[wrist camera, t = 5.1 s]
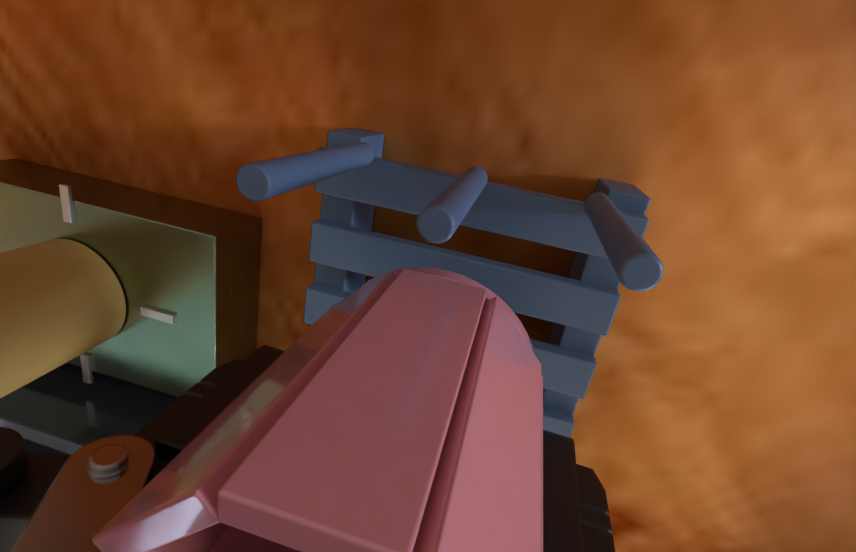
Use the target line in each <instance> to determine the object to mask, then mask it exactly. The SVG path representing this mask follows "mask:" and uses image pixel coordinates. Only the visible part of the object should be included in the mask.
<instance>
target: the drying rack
mask: <svg viewBox="0 0 856 552" xmlns="http://www.w3.org/2000/svg"><path fill="white" fill-rule="evenodd" d="M384 137H385V136H384V134H383V133H378V132H374V131H369V130H364V129H359V128H349V129H339V130H330V131H328V136H327V147H322V148H319V149H318V150H317V151H312V152H307V153H301V154H296V155H291V156H286V157H280V158H275V159H270V160H264V161H259V162H254V163H249V164H245V165H243V166H242V167H241V168H240V169H239V171H238V173H237V177H236V182H237V187H238V189H239V191H240V192H241V194H242V195H243V196H244V197H246V198H247V199H249V200H252V201H262V200H265V199H268V198H271V197H274V196H277V195H280V194H283V193H286V192H289V191H292V190H295V189H298V188H301V187H304V186H307V185H310V184H313V183H315V191H316V192H319V193H322V202H321V213H320V219H318V220H316V221H314V222H313V223H312V230H311V241H310V253H309V260H310V261H313V262H316V269H315V280H314V283H312V284H311V285H310V286H309V287H307V289H306V299H305V311H304V323H307V324H310V326H312V325H313V324H314V323H315V322H316V321H317V320H318V319H319V318H320V317H321V316H322V315H323V314H324V313H325V312H326V311H327V310H328V309H329V308H330V307H331V306H332V305H334V304H336V303H337V302H339V301H341V300H342V299H344V298H346V297H347V296H349V295H351V294H352V293H353V292H354V291H355V290H356V289H358V288H359V287H360V286H362V285H363V284H364V283H365V277H366V275H368V276H372V277H376V276H378V275H381V274H384V273H387V272H389V271H390V270H398V269H403V268H412V267H427V268H437V269H442V270H447V271H451V272H454V273H457V274H460V275H464V276H466V277H468V278H470V279H472V280H474V281H476V282H478V283H480V284H482V285H483V286H485V287H486V288H488V289H490V290H491V291H492V292H493V293H495V294H496V295H497V296H498V297H500V298H501V299H502V300H503V301H504V302H505V303H506V304H507V305H508V306H509V307H510V308H511V309H512V310H513V312H514V313H518V314H522V315H526V316H530V317H534V318H538V319H542V320H546V321H550V322H554V323H553V327H552V330H551V333H550V336H549V339H548V343H544V342H540V341H537V340H533V339H530V341H531V344H532V347H533V351H534V354H535V356H536V357H537V359H538V360H539V362H540V364H541V375H542V376H543V430H546V431H549V432H553V433H556V434H559V435H563V436H566V437H569V438H570V435H571V432H572V429H573V427H574V418H573V413H574V410H575V407H576V404H577V401H578V399H579V398H581V399H583V398H584V397H585V394H586V391H587V389H588V386H589V383H590V380H591V378H592V375H593V372H594V369H595V367H596V361H595V357H594V354H595V351H596V349H597V346H598V343H599V340H600V338H601V335H607V334H608V331H609V328H610V325H611V323H612V320H613V317H614V314H615V312H616V309H617V306H618V304H619V301H620V298H621V296H620V294H619V291H618V288H619V285H620V282H621V284H622V285H623V286H624V287H626V288H627V289H630V290H632V291H646V290H649V289H651V288H653V287H654V286H655V285H657V284H658V282H659V281H660V280H661V278H662V275H663V265H662V262H661V260H660V259H659V258H658V257H657V255H656V254H655V253H654V252H653V251H652V249H651V248H650V247H649V246H648V244H647V243H646V242H645V241H644V240H643V235H644V233H645V230H646V227H647V224H648V222H649V219H648V218H647V217H646V216H645V213H646V210H647V207H648V204H649V202H650V198H649V197H648V196H647V195H646V194H644V193H643V192H642V191H640V190H639V189H638V188H637V187H635V186H634V185H630V184H626V183H621V182H616V181H611V180H606V179H601V178H600V179H599V180H598V183H597V186H596V189H595V192H594V193H592V194H590V195H589V196H588V197H587V198H586V200H585V202H582V201H578V200H573V199H568V198H564V197H559V196H554V195H550V194H545V193H540V192H536V191H531V190H527V189H522V188H517V187H513V186H508V185H503V184H499V183H494V182H489V181H488V176H487V173H486V171H485V170H484V169H483V168H481V167H478V166H473V167H471V168H469V169H468V170H467V171H465V172H464V173H463V174H462V175H457V174H452V173H447V172H443V171H438V170H433V169H429V168H424V167H419V166H415V165H410V164H405V163H401V162H396V161H391V160H387V159H382V151H383V144H384ZM375 206H380V207H384V208H388V209H393V210H397V211H401V212H406V213H410V214H414V215H418V217H417V229H418V232H419V234H420V235H421V236H422V237H423V238H424V239H425V240H426V241H428V242H430V243H435V244H439V243H443V242H446V241H447V240H449V239H450V238H451V237H452V235H453V234H454V232H455V231H456V229H457V228H458V226H459V225H462V226H467V227H471V228H475V229H480V230H484V231H488V232H493V233H497V234H501V235H506V236H510V237H514V238H519V239H523V240H527V241H532V242H536V243H540V244H545V245H549V246H554V247H558V248H562V249H567V250H571V251H575V252H576V253H575V256H574V259H573V263H572V266H571V269H570V272H569V275H568V278H567V277H562V276H558V275H554V274H550V273H546V272H541V271H537V270H533V269H529V268H525V267H520V266H516V265H512V264H508V263H504V262H499V261H495V260H491V259H487V258H483V257H478V256H474V255H470V254H466V253H462V252H458V251H453V250H449V249H445V248H441V247H437V246H432V245H428V244H424V243H420V242H416V241H411V240H407V239H403V238H399V237H395V236H390V235H386V234H382V233H378V232H374V231H372V225H373V218H374V211H375Z"/></svg>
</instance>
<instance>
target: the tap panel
mask: <svg viewBox="0 0 856 552" xmlns="http://www.w3.org/2000/svg"><path fill="white" fill-rule="evenodd" d="M57 238H60V239H68V240H73V241H76V242H79V243H81V244H83V245H85V246H87V247H88V248H90V249H91V250H93V251H94V252H95V253H97V254H98V255H99V256H100V257H101V258H102V259H103V260H104V261H105V262H106V263H107V264H108V265H109V267H110V268H111V269H112V271H113V272H114V274H115V275H116V277H117V279H118V281H119V283H120V285H121V288H122V290H123V293H124V297H125V303H126V316H125V320H124V324H123V326H122V328H121V329H120V331H119V332H118V333H117V334H116V335H115V336H114V337H113V338H111V339H109V340H107V341H106V342H104V343H102V344H100V345H98V346H96V347H95V348H93V349H91V350H89V351H87V352H85V353H83V354H82V355H80V356H78V357H76V358H74V359H72V360H70V361H69V362H67V363H69V364H72V365H75V366H79V367H82V375H83V382H86V383H89V384H91V383H93V374H92V371H95V372H98V373H101V374H104V375H108V376H111V377H114V378H117V379H121V380H124V381H127V382H130V383H134V384H137V385H140V386H143V387H146V388H150V389H153V390H156V391H159V392H163V393H166V394H169V395H172V396H175V397H180V396H181V395H183V394H186V393H187V391H188V390H189V389H190V388H191V387H192V386H194V385H195V384H196V383H199V382H200V380H201V379H202V378H204V377H205V376H206V375H207V374H208V373H210V372H211V371H212V370H213V369H215V368H216V367H218V366H221V365H223V364H225V363H228V362H230V361H233V360H235V359H240V360H243V361H245V360H246V359H248V358H249V357H250V356H251V355H252V354H253V353H254V352H256V335H257V311H258V287H259V263H260V239H261V218H258V217H254V216H250V215H246V214H242V213H237V212H233V211H229V210H225V209H221V208H217V207H213V206H209V205H205V204H200V203H196V202H192V201H188V200H184V199H180V198H176V197H172V196H167V195H163V194H159V193H155V192H151V191H147V190H143V189H139V188H135V187H130V186H126V185H122V184H118V183H114V182H110V181H106V180H102V179H97V178H93V177H89V176H85V175H81V174H77V173H73V172H69V171H64V170H60V169H56V168H52V167H48V166H44V165H40V164H36V163H32V162H27V161H23V160H19V159H8V160H0V253H2V252H6V251H10V250H13V249H17V248H21V247H25V246H28V245H32V244H36V243H40V242H43V241H47V240H51V239H57Z"/></svg>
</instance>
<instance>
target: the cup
mask: <svg viewBox="0 0 856 552" xmlns="http://www.w3.org/2000/svg"><path fill="white" fill-rule="evenodd" d="M92 542H93V543H94V544H95V546H96V547H97V548H98V549H99V550H100V551H101V552H543V376H542V375H541V364H540V362H539V360H538V359H537V357H536V356H535V354H534V351H533V347H532V344H531V341H530V339H529V336H528V334H527V332H526V330H525V328H524V326H523V325H522V323H521V321H520V320H519V318H518V317H517V316H516V314H515V313H514V312H513V310H512V309H511V308H510V307H509V306H508V305H507V304H506V303H505V302H504V301H503V300H502V299H501V298H500V297H498V296H497V295H496V294H495V293H493V292H492V291H491V290H490V289H488V288H486V287H485V286H483V285H482V284H480V283H478V282H476V281H474V280H472V279H470V278H468V277H466V276H464V275H460V274H457V273H454V272H451V271H447V270H442V269H437V268H427V267H412V268H403V269H398V270H390V271H389V272H387V273H384V274H381V275H378V276H376V277H375V278H373V279H371V280H369V281H367V282H366V283H364V284H363V285H362V286H360V287H359V288H358V289H356V290H355V291H354V292H353V293H352V294H351V295H349V296H347V297H346V298H344V299H342V300H341V301H339V302H337V303H336V304H334V305H332V306H331V307H330V308H329V309H328V310H327V311H326V312H325V313H324V314H323V315H322V316H321V317H320V318H319V319H318V320H317V321H316V322H315V323H314V324H313V325H312V326H310V327H309V328H308V329H307V330H306V331H305V332H304V333H303V334H302V335H301V336H300V337H299V338H298V339H297V340H296V341H295V342H294V343H293V344H292V345H291V346H290V347H289V348H288V349H287V350H286V351H285V352H284V353H283V354H282V355H280V356H279V357H278V358H277V359H276V360H275V361H274V362H273V363H272V364H271V365H270V366H269V367H268V368H267V369H266V370H265V371H264V372H263V373H262V374H261V375H260V376H259V377H258V378H257V379H256V380H255V381H254V382H253V383H252V384H251V385H249V386H248V387H247V388H246V389H245V390H244V391H243V392H242V393H241V394H240V395H239V396H238V397H237V398H236V399H235V400H234V401H233V402H232V403H231V404H230V405H229V406H228V407H227V408H226V409H225V410H224V411H223V412H222V413H221V414H219V415H218V416H217V417H216V418H215V419H214V420H213V421H212V422H211V423H210V424H209V425H208V426H207V427H206V428H205V429H204V430H203V431H202V432H201V433H200V434H199V435H198V436H197V437H196V438H195V439H194V440H193V441H192V442H191V443H189V444H188V445H187V446H186V447H185V448H184V449H183V450H182V451H181V452H180V453H179V454H178V455H177V456H176V457H175V458H174V459H173V460H172V461H171V462H170V463H169V464H168V465H167V466H166V467H165V468H164V469H163V470H162V471H161V472H159V473H158V474H157V475H156V476H155V477H154V478H153V479H152V480H151V481H150V482H149V483H148V484H147V485H146V486H145V487H144V488H143V489H142V490H141V491H140V492H139V493H138V494H137V495H136V496H135V497H134V498H133V499H132V500H131V501H129V502H128V503H127V504H126V505H125V506H124V507H123V508H122V509H121V510H120V511H119V512H118V513H117V514H116V515H115V516H114V517H113V518H112V519H111V520H110V521H109V522H108V523H107V524H106V525H105V526H104V527H103V528H102V529H101V530H99V531H98V532H97V533H96V534H95V535H94V537H93V539H92Z"/></svg>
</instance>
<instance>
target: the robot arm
mask: <svg viewBox="0 0 856 552" xmlns="http://www.w3.org/2000/svg"><path fill="white" fill-rule="evenodd" d="M284 352H285V351H283V350H280V349H276V348H273V347H270V346H266V345H264V346H262V347H260V348H259V349H258V350H257V351H256V352H254V353H253V354H252V355H251V356H250V357H249V358H248V359H246V360H245V361H243V360H240V359H235V360H233V361H230V362H228V363H225V364H223V365H221V366H218V367H216V368H215V369H213V370H212V371H211V372H210V373H208V374H207V375H206V376H205V377H204V378H202V379H201V380H200V382H199V383H196V384H195V385H194V386H192V387H191V388H190V389H189V390H188V391H187V393H186V394H183V395H181V396H180V397H179V398H178V399H176V400H175V401H174V402H173V403H172V404H170V405H169V406H168V407H167V408H165V409H164V410H163V411H162V412H160V413H159V414H158V415H157V416H155V417H154V418H153V419H152V420H151V421H149V422H148V423H147V424H146V425H144V426H143V427H142V428H141V429H139V430H138V431H137V432H136V433H135V434H133V435H115V436H109V437H105V438H101V439H98V440H96V441H93V442H91V443H89V444H87V445H85V446H83V447H82V448H80V449H78V450H77V451H76V452H74V453H73V454H72V455H66V454H44V453H26V452H25V447H24V442H23V438H22V436H21V435H20V433H18V432H17V431H15V430H13V429H10V428H6V427H0V552H101V551H100V550H99V549H98V548H97V547H96V546H95V544H94V543H93V542H92V539H93V537H94V535H95V534H96V533H97V532H98V531H99V530H101V529H102V528H103V527H104V526H105V525H106V524H107V523H108V522H109V521H110V520H111V519H112V518H113V517H114V516H115V515H116V514H117V513H118V512H119V511H120V510H121V509H122V508H123V507H124V506H125V505H126V504H127V503H128V502H129V501H131V500H132V499H133V498H134V497H135V496H136V495H137V494H138V493H139V492H140V491H141V490H142V489H143V488H144V487H145V486H146V485H147V484H148V483H149V482H150V481H151V480H152V479H153V478H154V477H155V476H156V475H157V474H158V473H159V472H161V471H162V470H163V469H164V468H165V467H166V466H167V465H168V464H169V463H170V462H171V461H172V460H173V459H174V458H175V457H176V456H177V455H178V454H179V453H180V452H181V451H182V450H183V449H184V448H185V447H186V446H187V445H188V444H189V443H191V442H192V441H193V440H194V439H195V438H196V437H197V436H198V435H199V434H200V433H201V432H202V431H203V430H204V429H205V428H206V427H207V426H208V425H209V424H210V423H211V422H212V421H213V420H214V419H215V418H216V417H217V416H218V415H219V414H221V413H222V412H223V411H224V410H225V409H226V408H227V407H228V406H229V405H230V404H231V403H232V402H233V401H234V400H235V399H236V398H237V397H238V396H239V395H240V394H241V393H242V392H243V391H244V390H245V389H246V388H247V387H248V386H249V385H251V384H252V383H253V382H254V381H255V380H256V379H257V378H258V377H259V376H260V375H261V374H262V373H263V372H264V371H265V370H266V369H267V368H268V367H269V366H270V365H271V364H272V363H273V362H274V361H275V360H276V359H277V358H278V357H279V356H280V355H282V354H283V353H284ZM608 513H609V511H608V504H607V498H606V492H605V489H604V488H603V486H602V484H601V483H600V481H599V479H598V477H597V476H596V474H595V472H594V471H593V469H590V468H587V467H584V466H581V465H578V464H576V459H575V448H574V441H573V439H572V438H569V437H566V436H563V435H559V434H556V433H553V432H549V431H546V430H543V552H615V547H614V541H613V535H611V531H612V529H611V523H610V517H609V516H608Z"/></svg>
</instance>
